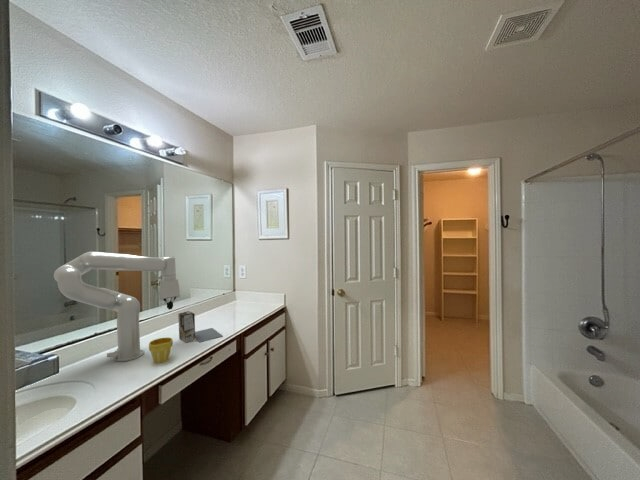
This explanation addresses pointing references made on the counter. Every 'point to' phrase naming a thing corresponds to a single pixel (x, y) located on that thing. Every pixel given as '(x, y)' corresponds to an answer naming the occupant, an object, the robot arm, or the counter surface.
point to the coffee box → (186, 326)
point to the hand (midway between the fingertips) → (170, 308)
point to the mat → (207, 335)
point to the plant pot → (160, 349)
